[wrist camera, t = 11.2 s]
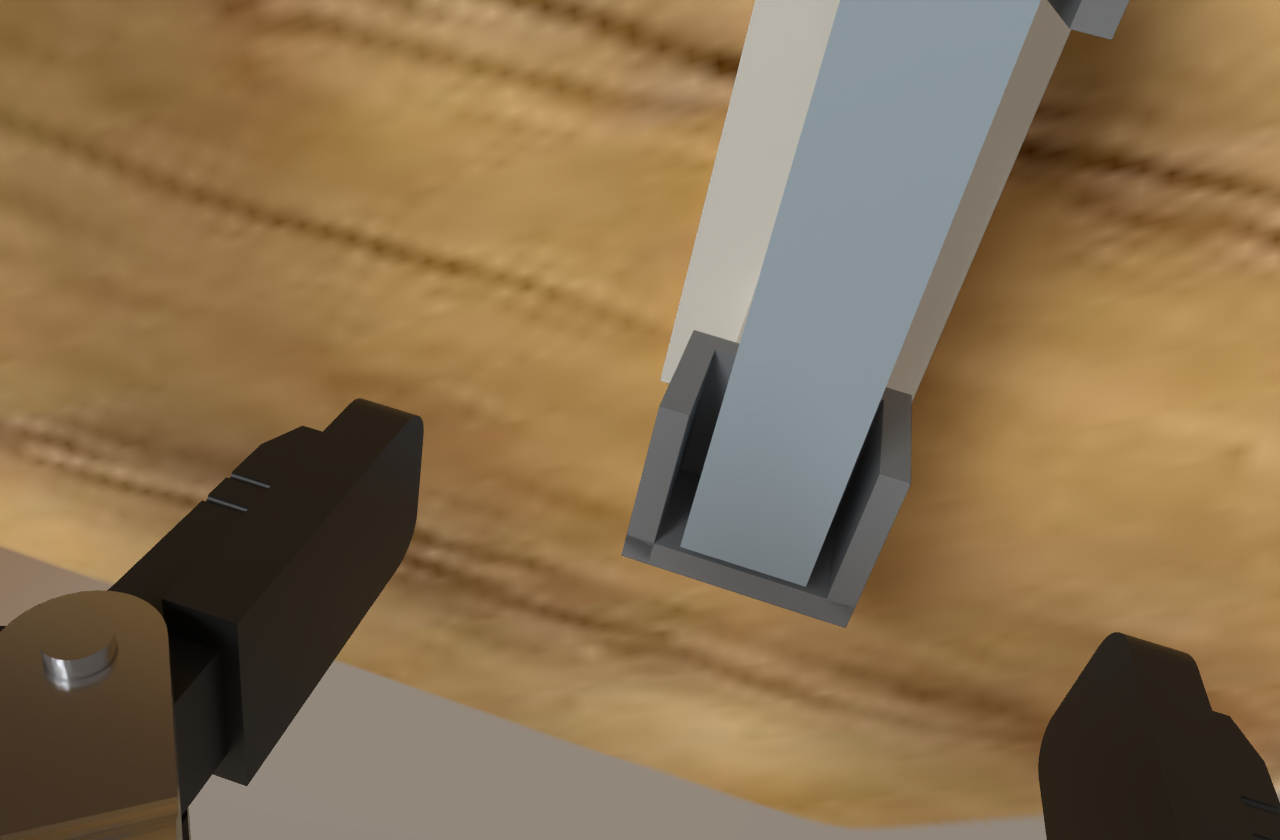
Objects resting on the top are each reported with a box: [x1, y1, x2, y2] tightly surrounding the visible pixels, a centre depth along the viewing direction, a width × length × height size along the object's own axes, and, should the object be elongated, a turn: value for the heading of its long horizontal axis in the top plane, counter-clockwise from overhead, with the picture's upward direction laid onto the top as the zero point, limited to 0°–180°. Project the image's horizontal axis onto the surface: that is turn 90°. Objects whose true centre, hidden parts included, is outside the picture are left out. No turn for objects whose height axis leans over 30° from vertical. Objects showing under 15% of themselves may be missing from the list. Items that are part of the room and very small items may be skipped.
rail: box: [680, 0, 1041, 587], centre depth 23 cm, size 18×4×4 cm, turn 168°
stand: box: [621, 0, 1129, 628], centre depth 26 cm, size 22×9×12 cm, turn 168°
